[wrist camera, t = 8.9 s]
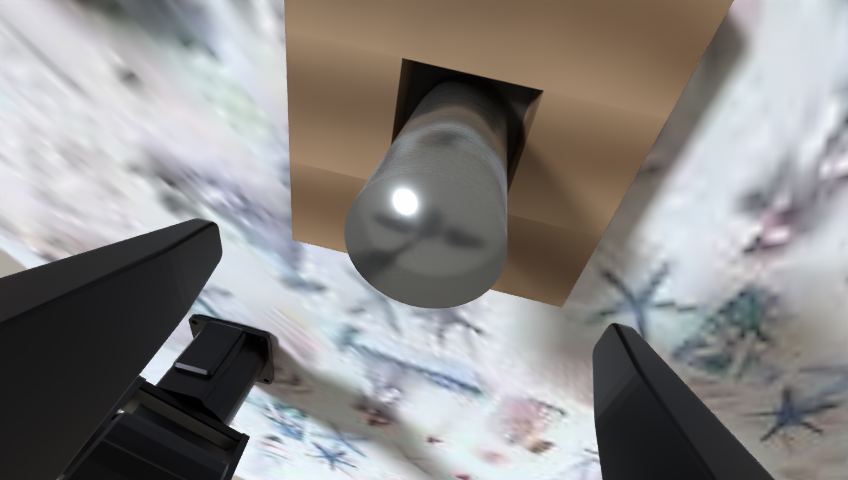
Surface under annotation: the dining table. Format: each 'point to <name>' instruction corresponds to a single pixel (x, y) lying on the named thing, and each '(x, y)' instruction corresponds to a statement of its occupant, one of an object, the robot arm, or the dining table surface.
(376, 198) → the metal pin
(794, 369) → the dining table surface
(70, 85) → the dining table surface
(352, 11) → the walnut block
